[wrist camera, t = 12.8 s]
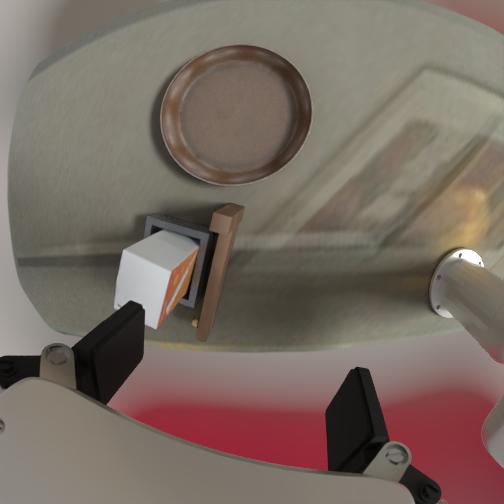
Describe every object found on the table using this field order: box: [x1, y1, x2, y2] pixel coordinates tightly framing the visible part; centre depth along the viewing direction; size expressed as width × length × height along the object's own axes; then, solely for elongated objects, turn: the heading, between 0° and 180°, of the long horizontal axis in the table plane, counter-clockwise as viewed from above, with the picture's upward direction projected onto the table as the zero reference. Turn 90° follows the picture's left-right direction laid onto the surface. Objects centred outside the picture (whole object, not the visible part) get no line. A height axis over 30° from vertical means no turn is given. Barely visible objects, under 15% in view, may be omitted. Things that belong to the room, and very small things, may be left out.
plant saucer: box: [160, 44, 313, 186], centre depth 33 cm, size 21×21×3 cm
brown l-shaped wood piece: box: [191, 203, 245, 342], centre depth 36 cm, size 3×20×10 cm, turn 165°
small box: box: [114, 229, 200, 329], centre depth 34 cm, size 8×6×13 cm
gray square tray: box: [143, 213, 215, 308], centre depth 39 cm, size 10×12×4 cm
